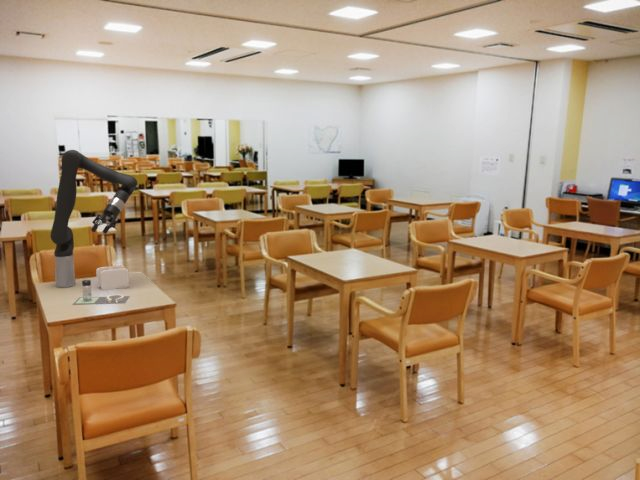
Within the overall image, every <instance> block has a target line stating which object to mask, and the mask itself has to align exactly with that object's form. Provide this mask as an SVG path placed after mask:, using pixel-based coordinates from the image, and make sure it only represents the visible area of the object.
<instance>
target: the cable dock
mask: <svg viewBox="0 0 640 480" xmlns="http://www.w3.org/2000/svg"><path fill="white" fill-rule="evenodd" d="M129 298H131V295H126V296H124V295H123V294H110V295H108V296H92V300H91V301H87V302H85V301H83V296H82V297H78V299H76V301H74V303H72V304H71V305H72V306H81V305H82V306H83V305H115V304H116V305H117V304H118V305H119V304H121V305H122V304H126V303H127V301H128V300H129Z"/></svg>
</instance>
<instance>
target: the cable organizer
mask: <svg viewBox="0 0 640 480" xmlns="http://www.w3.org/2000/svg"><path fill="white" fill-rule="evenodd" d="M95 274H96V285H97V286H98V288H101V290H102V291H108V290H109V291H110V290H120V289H121V290H125V289H127V288H129V286H130V277H129V275H130V274H129V270H128V268H126V267H125V266H124V265H122V264H121V265H119V264H118V265H109V266H100V267H98V268H96V271H95Z"/></svg>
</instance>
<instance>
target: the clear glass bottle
mask: <svg viewBox="0 0 640 480" xmlns="http://www.w3.org/2000/svg"><path fill="white" fill-rule="evenodd" d="M81 287H82V297H83V301H85V302H87V301H91V300H92V297H93V296H92V295H93V294H92V281H91V279H84V280H82V281H81Z"/></svg>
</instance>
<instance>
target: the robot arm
mask: <svg viewBox="0 0 640 480" xmlns="http://www.w3.org/2000/svg"><path fill="white" fill-rule="evenodd" d="M79 169H82V170H84V171H87V172H89V173H91V174H93V175H94V176H96V177H98V178H100V179H101V180H103V181H106V182H108V183H111V184H113V185H117V184H119V185H120V187H119V189H118V190H117V191H116V193H115V194H114V195H113V197H112V198H111V199H110V201H108V203H107V205H106V206H105V208H104V209H103V214H100V213H98V214H97V215H96V217H95V218H94V219H93V221H92V224H93V226H92V227H91V229H90V230H91V232H93V233H95V232H96V231H97V230H98V228H99V227H101V225H105V224H106V226H105V227H103V228H104V229H103V230H102V233H103V234H104V235H105V234H107V233H108V232H109V231H110V229H114V228H115V226H116V225H117V224H118V221H120V218H119V217H118V216H119V215H120V213H121V212H122V210H123V209H124V206H125V205H126V203H127V201H128V200H129V198H130V197H131V195H133V193H134V191H135V190H136V188H137V185H138V179H136V177H135V176H132V175H130V174H126V173H123V172H119V171H116V170H115V169H112V168H109V167H107V166H105V165H103V164H101V163H98V162H96V161H94V160H92V159H90V158H88V157H87V156H85V155H84V154H82V153H81V152H79V151H77V150H75V149H69V150H66V151H65V152H63V154H62V155H61V170H60V171H61V173H60V174H61V175H60V179H59V183H58V188H57V195H56V202H55V211H54V218H53V223H52V226H51V230H50V240H51V241H52V243H54V245H55V249H54V253H53V254H54V263H55V265H54V267H55V269H54V279H55V280H54V281H55V282H54V283H55V287H56V288H70V287H73V286H75V285H76V273H75V262H74V243H75V242H74V233H73V230H72V228H71V227H70V226H69V221H70V218H71V215H72V213H73V211H74V209H75V205H76V202H77V201H76V200H77V190H78V189H77V174H78V170H79Z"/></svg>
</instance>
